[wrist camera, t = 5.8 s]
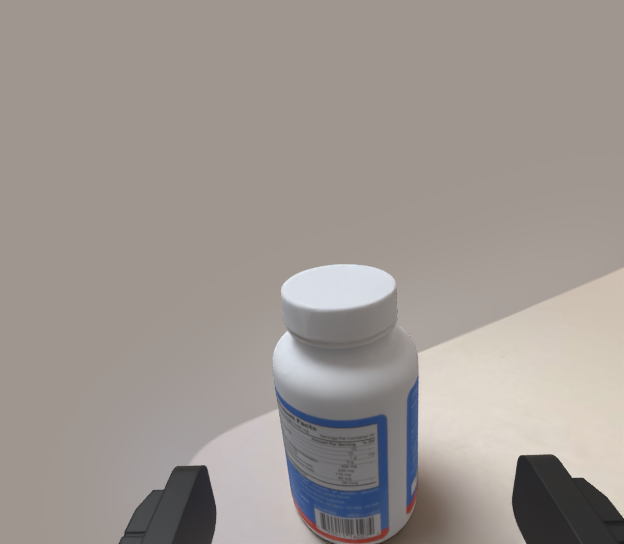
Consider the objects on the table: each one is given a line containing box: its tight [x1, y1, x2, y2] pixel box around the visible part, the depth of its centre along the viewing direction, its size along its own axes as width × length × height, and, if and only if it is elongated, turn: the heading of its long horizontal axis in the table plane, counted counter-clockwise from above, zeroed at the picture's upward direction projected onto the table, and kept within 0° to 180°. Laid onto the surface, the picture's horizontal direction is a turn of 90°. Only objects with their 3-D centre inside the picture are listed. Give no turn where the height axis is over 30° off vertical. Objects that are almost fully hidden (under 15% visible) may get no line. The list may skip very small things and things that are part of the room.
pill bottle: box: [272, 264, 418, 544], centre depth 15 cm, size 6×5×10 cm
